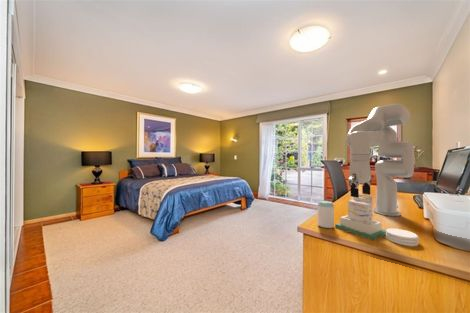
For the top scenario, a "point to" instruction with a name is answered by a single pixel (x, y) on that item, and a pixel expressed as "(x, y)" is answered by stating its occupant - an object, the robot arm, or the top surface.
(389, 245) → the top surface
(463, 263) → the top surface
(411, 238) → the white short cylinder
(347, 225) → the green and cream tray
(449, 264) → the top surface
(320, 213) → the can
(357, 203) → the ink cartridge box
